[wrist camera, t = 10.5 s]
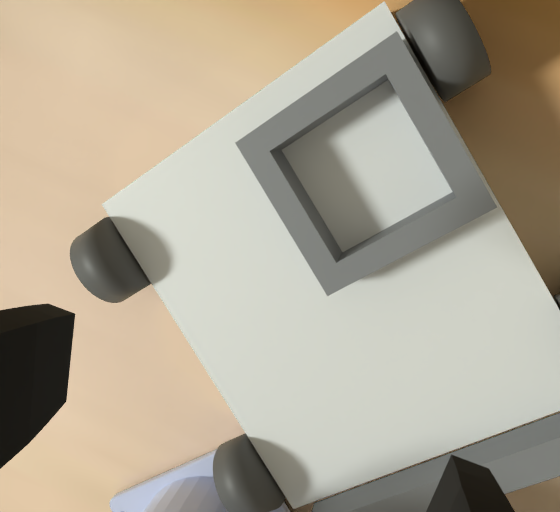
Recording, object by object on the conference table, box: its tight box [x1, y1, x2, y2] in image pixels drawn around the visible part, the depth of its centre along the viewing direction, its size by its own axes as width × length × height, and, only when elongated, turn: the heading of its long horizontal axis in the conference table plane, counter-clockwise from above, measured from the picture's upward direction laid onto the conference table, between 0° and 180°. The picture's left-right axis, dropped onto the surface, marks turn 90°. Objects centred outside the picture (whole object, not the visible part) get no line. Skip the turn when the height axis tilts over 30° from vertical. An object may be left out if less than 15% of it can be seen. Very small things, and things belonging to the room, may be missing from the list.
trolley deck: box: [70, 0, 560, 512], centre depth 17 cm, size 15×15×3 cm
